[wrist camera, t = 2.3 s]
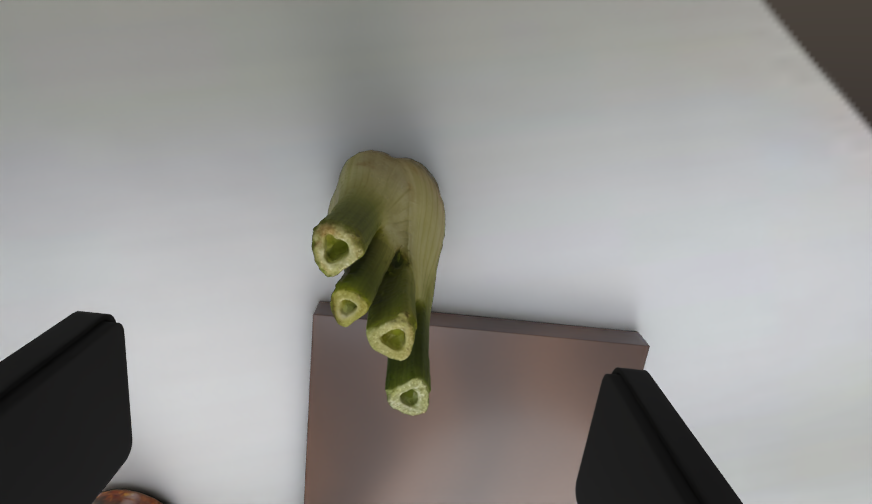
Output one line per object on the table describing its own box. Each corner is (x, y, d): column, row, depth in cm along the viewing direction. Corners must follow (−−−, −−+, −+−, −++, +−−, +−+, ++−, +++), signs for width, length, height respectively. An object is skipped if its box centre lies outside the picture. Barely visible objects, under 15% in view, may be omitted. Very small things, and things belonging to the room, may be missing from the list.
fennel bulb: (438, 270, 25) (452, 432, 14) (335, 263, 25) (264, 423, 14) (448, 148, 23) (473, 221, 12) (336, 140, 23) (256, 206, 12)
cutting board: (303, 601, 32) (297, 627, 31) (318, 300, 26) (312, 315, 24) (561, 616, 33) (568, 643, 32) (638, 331, 27) (651, 347, 25)
